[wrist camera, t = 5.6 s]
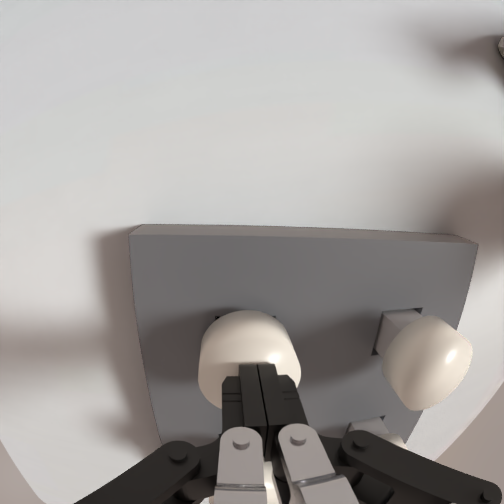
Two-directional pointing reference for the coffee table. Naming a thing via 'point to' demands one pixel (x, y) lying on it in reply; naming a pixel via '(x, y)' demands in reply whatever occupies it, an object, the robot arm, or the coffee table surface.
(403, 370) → the button
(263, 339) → the button
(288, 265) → the board
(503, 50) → the digital clock
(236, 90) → the coffee table surface
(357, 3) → the coffee table surface
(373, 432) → the button
